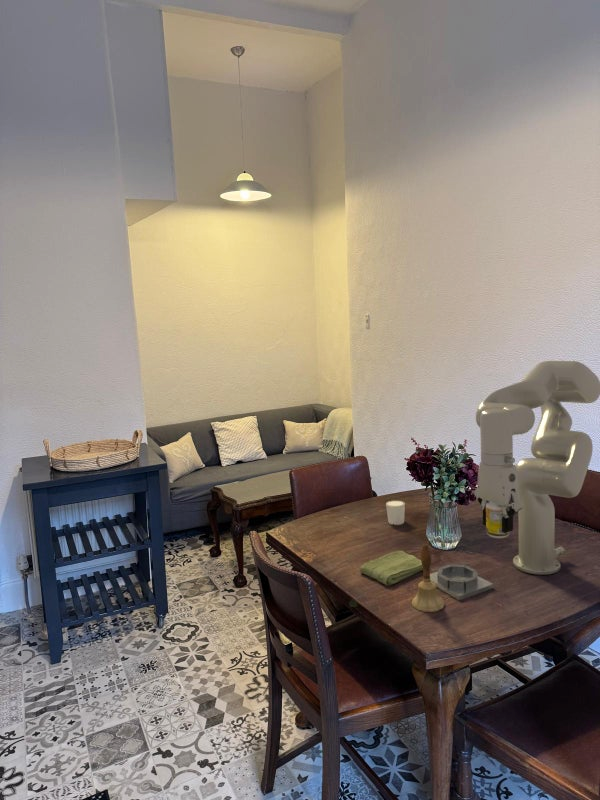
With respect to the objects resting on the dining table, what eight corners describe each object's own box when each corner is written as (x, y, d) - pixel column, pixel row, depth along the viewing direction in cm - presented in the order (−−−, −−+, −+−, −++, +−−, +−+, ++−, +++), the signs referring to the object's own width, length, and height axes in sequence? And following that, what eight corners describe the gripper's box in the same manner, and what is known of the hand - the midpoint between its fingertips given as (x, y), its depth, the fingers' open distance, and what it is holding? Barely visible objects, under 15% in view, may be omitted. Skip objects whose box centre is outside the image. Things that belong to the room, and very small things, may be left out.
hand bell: (406, 607, 145) (404, 548, 143) (418, 593, 152) (417, 536, 149) (437, 615, 140) (436, 554, 138) (449, 600, 147) (447, 542, 145)
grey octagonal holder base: (456, 569, 164) (456, 558, 164) (493, 588, 152) (493, 576, 152) (423, 579, 159) (423, 569, 159) (458, 600, 147) (458, 588, 146)
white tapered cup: (382, 521, 206) (382, 502, 205) (398, 517, 209) (397, 499, 208) (393, 526, 200) (392, 507, 199) (409, 522, 203) (409, 504, 202)
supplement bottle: (491, 529, 148) (490, 491, 146) (512, 533, 144) (512, 494, 143) (482, 536, 144) (481, 497, 142) (504, 540, 140) (503, 501, 139)
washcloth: (431, 569, 166) (431, 559, 166) (388, 589, 156) (387, 578, 156) (399, 556, 177) (398, 546, 176) (356, 573, 167) (356, 563, 166)
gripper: (535, 462, 135) (536, 534, 138) (482, 449, 150) (483, 515, 153) (513, 468, 132) (514, 542, 135) (460, 454, 147) (462, 521, 150)
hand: (497, 527), depth 144 cm, fingers closed on supplement bottle, 5 cm apart
